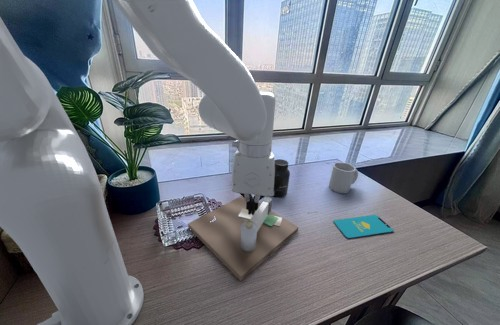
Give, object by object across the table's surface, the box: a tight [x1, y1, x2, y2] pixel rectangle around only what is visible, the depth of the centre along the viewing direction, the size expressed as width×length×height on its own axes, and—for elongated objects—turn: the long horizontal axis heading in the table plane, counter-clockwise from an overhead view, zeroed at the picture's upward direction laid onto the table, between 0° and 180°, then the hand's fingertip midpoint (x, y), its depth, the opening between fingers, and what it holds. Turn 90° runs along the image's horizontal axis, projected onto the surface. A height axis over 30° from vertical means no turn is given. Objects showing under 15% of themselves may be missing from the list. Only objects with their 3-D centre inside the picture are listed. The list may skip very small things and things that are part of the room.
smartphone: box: [333, 214, 394, 240], centre depth 60 cm, size 7×1×15 cm
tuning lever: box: [241, 196, 273, 252], centre depth 53 cm, size 14×4×7 cm, turn 155°
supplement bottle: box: [271, 159, 291, 199], centre depth 71 cm, size 7×7×12 cm
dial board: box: [187, 195, 299, 282], centre depth 57 cm, size 21×21×2 cm
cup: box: [328, 161, 359, 194], centre depth 77 cm, size 7×10×9 cm
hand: (251, 211), depth 56 cm, fingers closed
